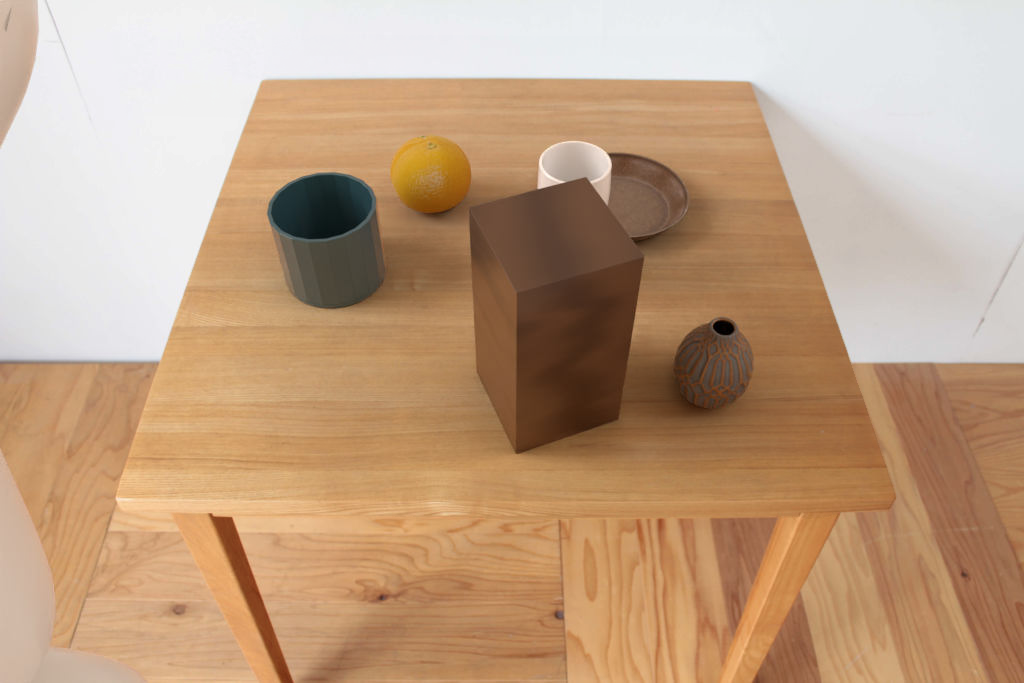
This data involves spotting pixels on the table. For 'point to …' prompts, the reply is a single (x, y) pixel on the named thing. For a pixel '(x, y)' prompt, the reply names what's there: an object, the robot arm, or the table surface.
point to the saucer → (645, 195)
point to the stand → (552, 310)
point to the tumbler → (328, 239)
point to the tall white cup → (576, 166)
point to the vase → (713, 364)
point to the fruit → (430, 174)
